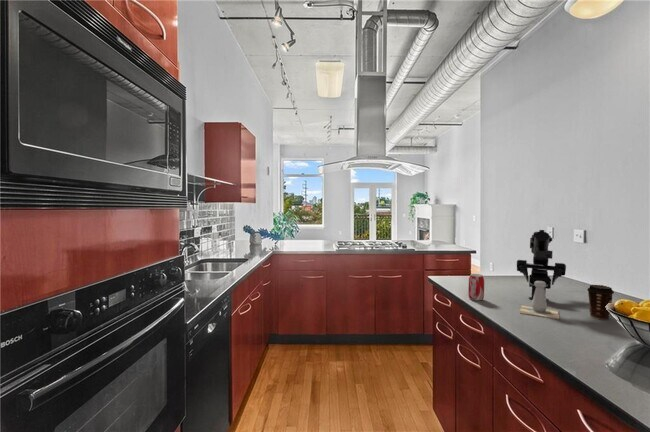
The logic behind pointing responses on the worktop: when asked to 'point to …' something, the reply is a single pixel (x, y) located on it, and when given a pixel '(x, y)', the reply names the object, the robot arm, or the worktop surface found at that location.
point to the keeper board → (548, 313)
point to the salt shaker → (539, 297)
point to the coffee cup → (599, 300)
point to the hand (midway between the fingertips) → (540, 283)
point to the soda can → (476, 287)
